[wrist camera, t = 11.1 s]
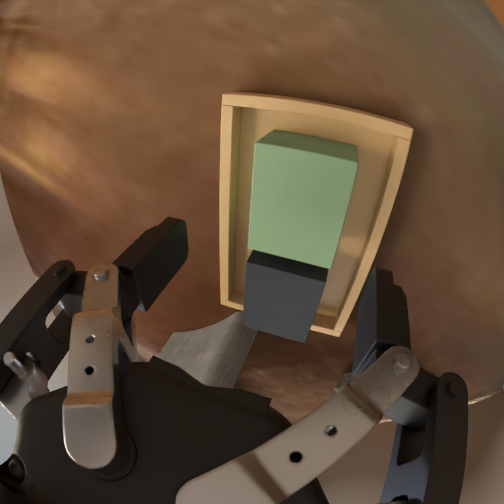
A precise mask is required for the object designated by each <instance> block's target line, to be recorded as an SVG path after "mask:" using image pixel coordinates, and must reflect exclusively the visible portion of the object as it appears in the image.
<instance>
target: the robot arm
mask: <svg viewBox="0 0 504 504" xmlns="http://www.w3.org/2000/svg"><path fill="white" fill-rule="evenodd" d="M188 251H189V248H188V237H187V227H186V222H185V221H184V220H181V219H176V218H172V217H167V218H166V219H165V220H164V221H163V222H162V223H161V224H159V225H158V226H157V225H156V226H154V227H152V228H150V229H148V230H146V231H145V232H144V233H143V234H142V235H141V236H140V237H139V239H137V240H135V241H134V242H133V244H131V245H130V246H129V247H128V248H127V249H126V250H125V251H124V252H123V253H122V254H121V255H120V256H119V257H118V258H117V259H116V260H115V261H114V262H113V263H101V264H98V265H96V266H94V267H92V268H91V269H90V270H89V271H88V272H87V271H76V270H75V267H74V265H73V263H72V262H71V261H69V260H62V261H59V262H56V263H55V264H53V265H52V266H51V267H50V268H49V269H48V270H47V271H46V272H45V273H44V274H43V275H42V276H41V277H40V278H39V279H38V280H37V282H36V283H35V284H34V285H33V286H32V287H31V288H30V289H29V290H28V291H27V293H26V294H25V295H24V296H23V297H22V298H21V299H20V301H19V302H18V303H17V304H16V305H15V306H14V308H13V309H12V310H11V311H10V312H9V314H8V315H7V316H6V317H5V319H4V320H3V321H2V322H1V324H0V404H1V405H3V407H4V408H5V409H6V410H7V411H8V412H9V413H10V414H11V415H12V416H13V417H14V418H15V419H16V420H17V421H18V426H17V435H16V441H15V445H14V449H13V452H12V454H11V456H10V458H9V459H8V460H7V461H6V462H4V463H3V464H2V465H0V504H329V502H328V500H327V498H326V496H325V494H324V492H323V490H322V487H321V485H320V483H319V481H318V479H317V476H319V475H320V474H321V473H323V472H324V471H325V470H326V469H328V468H329V467H330V466H331V465H333V464H334V463H335V462H336V461H337V460H339V459H340V458H341V457H342V456H344V455H345V454H346V453H347V452H348V451H349V450H350V449H352V448H353V447H354V446H355V445H356V444H357V443H358V442H359V441H360V440H361V439H362V438H363V437H365V436H366V434H368V433H369V432H370V431H371V430H372V429H373V428H374V427H375V426H376V425H377V424H378V423H379V421H380V420H381V419H382V416H385V417H387V418H389V419H391V420H393V421H395V422H397V427H396V433H395V439H394V444H393V449H392V454H391V460H390V464H389V468H388V473H387V477H386V481H385V484H384V488H383V492H382V496H381V499H380V502H379V504H459V500H460V494H461V489H462V483H463V476H464V469H465V459H466V449H467V433H468V392H467V386H466V384H465V382H464V380H463V379H462V378H461V377H460V376H459V375H458V374H456V373H453V372H447V373H444V374H443V375H442V376H441V377H440V378H438V377H437V376H435V375H433V374H431V373H429V372H427V371H425V370H423V369H422V368H421V367H420V364H419V360H418V358H417V356H416V355H415V354H414V353H413V351H411V347H410V331H409V319H408V309H407V300H406V296H405V294H404V292H403V290H402V288H401V287H400V286H396V285H394V283H393V274H392V271H390V270H386V269H382V268H378V267H374V268H373V269H372V271H371V274H370V276H369V279H368V281H367V283H366V286H365V288H364V290H363V292H362V295H361V298H360V301H359V306H358V317H357V329H356V340H355V350H354V359H353V367H352V374H351V376H352V377H357V378H356V379H355V380H354V381H353V382H352V383H350V384H349V385H348V384H347V385H345V386H344V387H342V388H341V389H340V390H339V391H337V392H336V393H335V394H334V395H332V396H331V397H330V398H329V399H327V400H326V401H325V402H323V403H322V404H321V405H320V406H318V407H317V408H316V409H314V410H313V411H312V412H310V413H309V414H307V415H306V416H305V417H303V418H302V419H300V420H299V421H298V422H296V423H295V424H293V425H292V424H291V423H290V422H289V421H288V420H287V419H286V418H285V417H284V416H283V415H282V414H281V413H279V412H278V411H277V410H275V409H274V408H272V407H270V406H269V405H270V402H271V398H267V397H264V396H260V395H257V394H254V393H251V392H247V391H244V390H241V389H233V388H223V387H214V386H207V385H204V384H202V383H201V382H200V381H198V380H197V379H195V378H194V377H192V376H191V375H190V374H188V373H187V372H186V371H184V370H183V369H182V368H180V367H179V366H176V365H174V364H172V363H169V362H167V361H165V360H162V359H160V358H158V357H156V356H152V358H151V360H150V361H149V362H140V360H139V357H138V353H137V345H136V333H135V318H134V314H133V312H134V311H135V310H136V309H139V310H141V311H144V312H147V310H148V309H149V308H150V306H151V305H152V304H153V302H154V301H155V300H156V298H157V297H158V296H159V295H160V293H161V292H162V291H163V289H164V288H165V287H166V285H167V284H168V283H169V282H170V280H171V279H172V278H173V277H174V275H175V274H176V273H177V271H178V270H179V269H180V268H181V266H182V265H183V264H184V263H185V261H186V259H187V256H188ZM58 302H60V304H61V305H62V307H63V310H62V311H61V312H60V313H59V315H58V316H57V317H56V318H55V320H54V321H53V322H52V324H51V325H50V326H49V328H48V329H47V327H46V324H45V320H46V317H47V315H48V314H49V313H50V311H51V310H52V309H53V308H54V307H55V306H56V304H57V303H58ZM68 351H69V362H68V386H65V387H63V388H60V389H57V390H54V391H52V392H50V391H49V389H48V388H47V385H48V381H49V379H50V377H51V376H52V374H53V373H54V371H55V370H56V368H57V367H58V365H59V364H60V362H61V361H62V359H63V358H64V356H65V355H66V353H67V352H68Z"/></svg>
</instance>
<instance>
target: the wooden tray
mask: <svg viewBox="0 0 504 504" xmlns="http://www.w3.org/2000/svg"><path fill="white" fill-rule="evenodd" d="M274 129H276V130H282V131H288V132H294V133H300V134H305V135H311V136H316V137H321V138H325V139H330V140H335V141H339V142H343V143H348V144H352V145H356V146H357V151H358V160H359V166H358V170H357V175H356V179H355V183H354V187H353V192H352V196H351V200H350V204H349V208H348V211H347V215H346V219H345V223H344V226H343V230H342V234H341V237H340V241H339V244H338V248H337V251H336V254H335V258H334V261H333V264H332V268H331V269H329V270H328V275H327V281H326V285H325V288H324V291H323V294H322V297H321V300H320V303H319V306H318V309H317V312H316V315H315V318H314V320H313V323H312V326H311V329H310V330H313V331H317V332H321V333H325V334H329V335H333V336H337V337H339V336H340V334H341V332H342V331H343V329H344V326H345V324H346V322H347V320H348V318H349V316H350V314H351V312H352V310H353V307H354V305H355V303H356V301H357V299H358V296H359V294H360V292H361V289H362V287H363V285H364V282H365V280H366V278H367V275H368V273H369V270H370V268H371V265H372V263H373V260H374V258H375V255H376V253H377V250H378V247H379V245H380V242H381V239H382V237H383V234H384V231H385V228H386V225H387V222H388V219H389V217H390V214H391V210H392V207H393V204H394V201H395V198H396V195H397V191H398V188H399V185H400V181H401V178H402V174H403V171H404V167H405V163H406V159H407V156H408V152H409V147H410V143H411V141H410V140H411V139H412V134H413V128H412V127H410V126H409V125H408V124H407V123H404V122H401V121H397V120H394V119H391V118H387V117H384V116H380V115H377V114H373V113H369V112H365V111H361V110H357V109H353V108H348V107H344V106H339V105H334V104H329V103H324V102H319V101H313V100H307V99H301V98H294V97H287V96H279V95H270V94H260V93H248V92H229V93H224V94H222V111H221V146H220V292H221V304H222V305H225V306H228V307H232V308H235V309H238V310H242V311H243V304H244V288H245V272H246V261H247V259H248V258H249V256H250V254H251V252H252V251H253V249H249V248H248V238H249V223H250V208H251V193H252V179H253V164H254V150H255V142H256V141H258V140H259V139H261V138H262V137H264V136H265V135H266V134H268V133H269V132H271V131H272V130H274Z"/></svg>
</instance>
